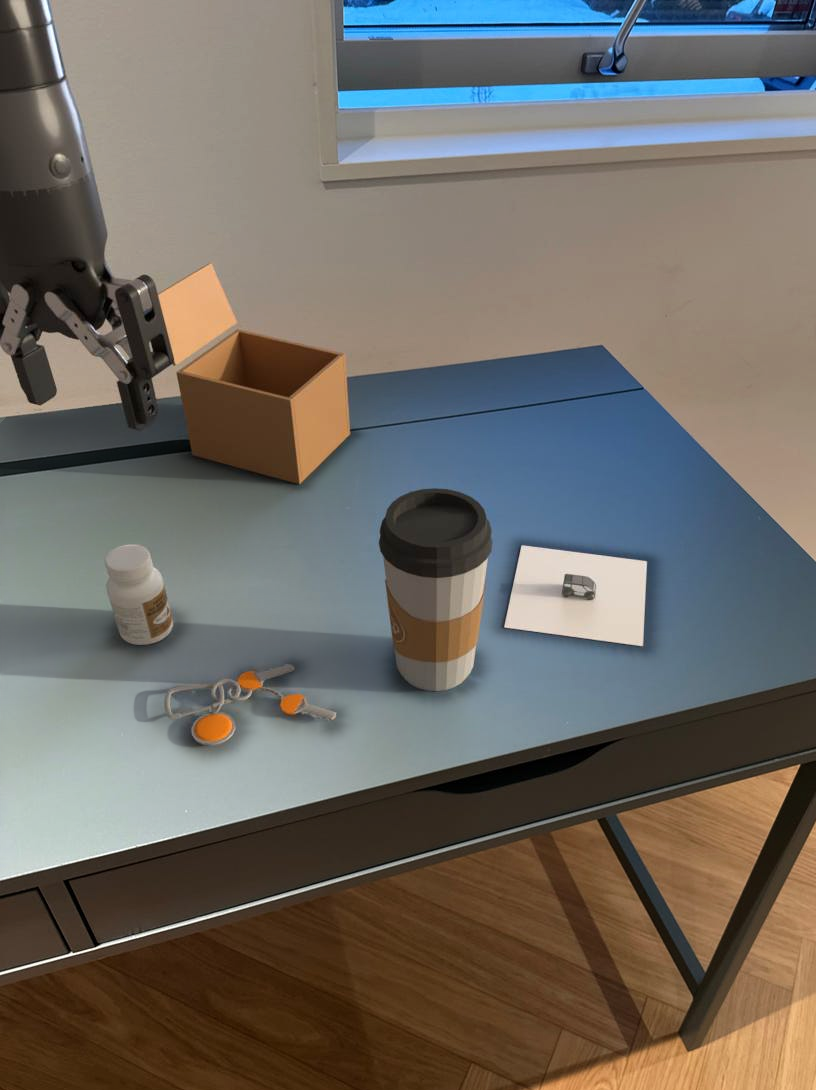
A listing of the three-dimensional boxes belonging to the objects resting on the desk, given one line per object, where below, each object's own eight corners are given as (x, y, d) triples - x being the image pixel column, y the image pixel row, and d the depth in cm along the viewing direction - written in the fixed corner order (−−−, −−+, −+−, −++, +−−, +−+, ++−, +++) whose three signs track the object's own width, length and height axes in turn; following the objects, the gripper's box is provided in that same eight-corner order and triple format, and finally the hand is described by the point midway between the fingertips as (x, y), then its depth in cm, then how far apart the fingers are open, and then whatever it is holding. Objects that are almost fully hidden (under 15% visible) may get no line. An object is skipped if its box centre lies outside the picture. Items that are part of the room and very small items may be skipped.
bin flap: (176, 365, 92) (173, 365, 92) (237, 322, 100) (234, 323, 100) (145, 302, 89) (142, 302, 89) (211, 262, 96) (208, 263, 96)
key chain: (166, 753, 69) (164, 746, 69) (164, 684, 74) (162, 677, 74) (338, 725, 72) (337, 718, 71) (325, 660, 77) (324, 653, 76)
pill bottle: (169, 646, 78) (150, 573, 73) (115, 647, 77) (92, 574, 72) (178, 611, 81) (160, 539, 76) (126, 612, 81) (104, 540, 75)
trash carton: (192, 455, 99) (175, 372, 93) (249, 408, 107) (237, 328, 100) (299, 484, 96) (290, 400, 90) (350, 434, 104) (345, 353, 97)
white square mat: (642, 646, 80) (645, 633, 79) (504, 627, 81) (505, 614, 80) (646, 561, 89) (649, 548, 88) (521, 545, 90) (522, 532, 89)
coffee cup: (374, 642, 79) (365, 493, 69) (468, 624, 81) (473, 477, 71) (398, 712, 73) (393, 560, 63) (499, 690, 75) (510, 541, 65)
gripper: (164, 165, 56) (208, 410, 67) (-24, 133, 60) (47, 369, 71) (80, 203, 51) (143, 461, 62) (-121, 164, 54) (-27, 415, 65)
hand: (92, 412), depth 66 cm, fingers open, 8 cm apart
